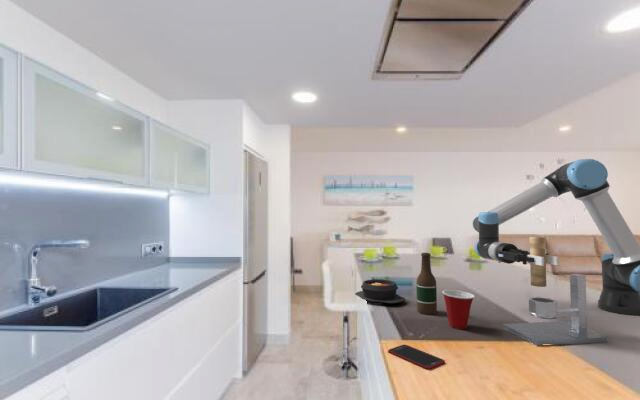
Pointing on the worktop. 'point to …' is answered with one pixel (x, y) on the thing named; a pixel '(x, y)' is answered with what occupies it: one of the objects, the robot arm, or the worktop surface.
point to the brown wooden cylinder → (537, 270)
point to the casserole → (380, 291)
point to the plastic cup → (458, 307)
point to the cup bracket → (558, 329)
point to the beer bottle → (426, 288)
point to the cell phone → (417, 357)
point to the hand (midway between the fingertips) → (550, 261)
